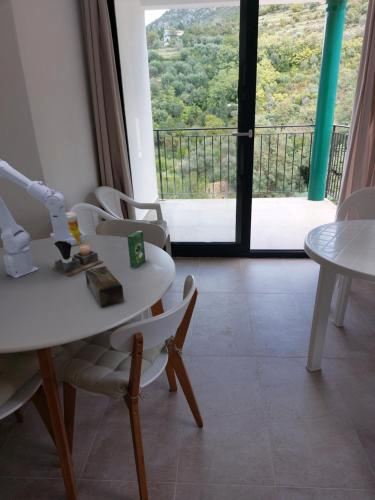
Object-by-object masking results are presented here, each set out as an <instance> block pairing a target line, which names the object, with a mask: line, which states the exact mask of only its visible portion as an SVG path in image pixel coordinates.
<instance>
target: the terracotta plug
mask: <svg viewBox="0 0 375 500" xmlns="http://www.w3.org/2000/svg"><path fill="white" fill-rule="evenodd" d="M78 249H79V252H80V256H83V257H84V256H87V255H90V250H91V249H90V245H89V244H87V245H86V244H83V245H80V246H79V247H78Z"/></svg>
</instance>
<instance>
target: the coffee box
mask: <svg viewBox="0 0 375 500" xmlns="http://www.w3.org/2000/svg"><path fill="white" fill-rule="evenodd" d="M126 238H127V246H128V256H129V262H130V263H129V266H130V268H131V269H132V268H133V269H135V268H138V267H139V266H141V265H142V264H144V262H146V251H145V250H146V249H145V240H144V239H145V238H144V231H143V230H136V231H134V232H132V233H131V234H129V235H127V236H126Z"/></svg>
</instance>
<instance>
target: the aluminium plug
mask: <svg viewBox="0 0 375 500" xmlns="http://www.w3.org/2000/svg"><path fill="white" fill-rule="evenodd" d="M72 257H73V256H71V257H70V258H69V259H66V260H65V259H63V257H62V258H61V260H62V263H64V264H67V263H69V262H72V261H73V260H72Z"/></svg>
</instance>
